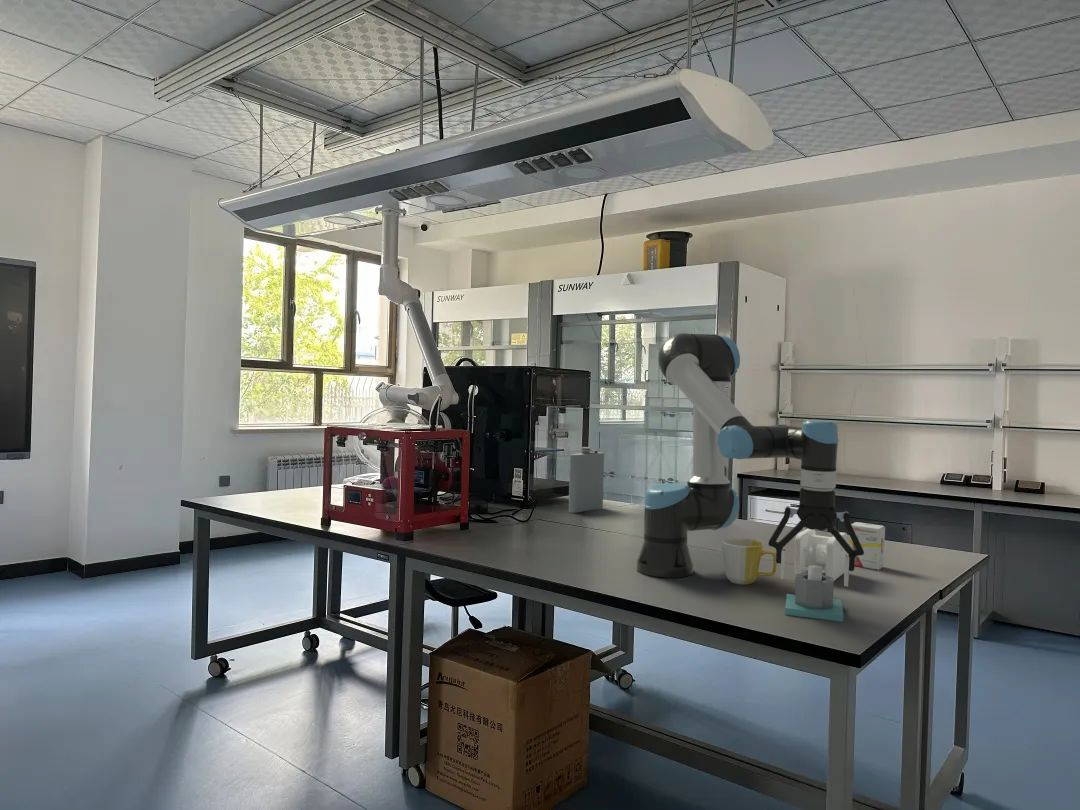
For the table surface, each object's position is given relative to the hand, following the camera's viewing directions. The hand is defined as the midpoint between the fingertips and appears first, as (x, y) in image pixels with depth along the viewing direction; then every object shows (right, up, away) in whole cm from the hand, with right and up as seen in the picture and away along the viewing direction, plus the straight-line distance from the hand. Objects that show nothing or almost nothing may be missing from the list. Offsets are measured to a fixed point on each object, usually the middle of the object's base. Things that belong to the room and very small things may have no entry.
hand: (813, 581), depth 169 cm
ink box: (+31, -6, +43) cm, 53 cm away
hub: (0, -5, 0) cm, 5 cm away
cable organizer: (+14, -6, +31) cm, 35 cm away
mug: (-9, -6, +22) cm, 25 cm away
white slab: (-44, -2, +126) cm, 133 cm away
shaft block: (0, -7, 0) cm, 7 cm away
